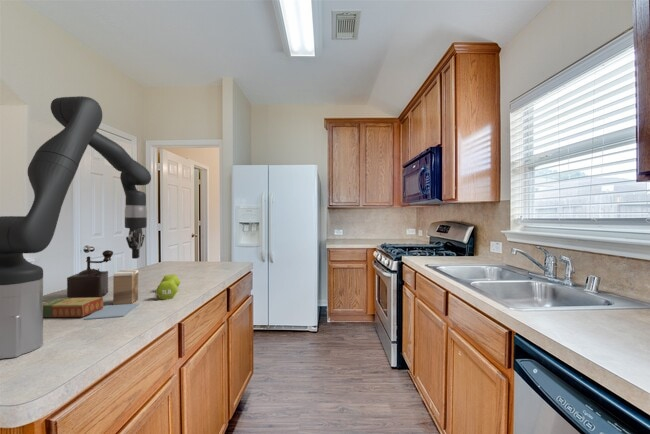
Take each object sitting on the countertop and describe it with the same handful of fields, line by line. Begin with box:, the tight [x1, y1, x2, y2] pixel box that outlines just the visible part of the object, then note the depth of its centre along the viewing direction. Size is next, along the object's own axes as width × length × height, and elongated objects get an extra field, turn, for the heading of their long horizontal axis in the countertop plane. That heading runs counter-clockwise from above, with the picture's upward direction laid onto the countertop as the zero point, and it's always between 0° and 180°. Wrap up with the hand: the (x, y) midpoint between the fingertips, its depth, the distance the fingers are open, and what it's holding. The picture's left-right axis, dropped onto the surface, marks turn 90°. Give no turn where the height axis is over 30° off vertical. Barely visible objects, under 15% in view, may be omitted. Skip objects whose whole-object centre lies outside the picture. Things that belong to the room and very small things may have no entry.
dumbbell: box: [155, 274, 181, 301], centre depth 117 cm, size 16×8×7 cm, turn 23°
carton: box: [43, 296, 104, 318], centre depth 94 cm, size 8×16×4 cm, turn 88°
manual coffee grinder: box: [66, 249, 114, 298], centre depth 116 cm, size 16×11×18 cm
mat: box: [83, 303, 139, 321], centre depth 96 cm, size 13×11×1 cm
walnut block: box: [112, 269, 139, 305], centre depth 106 cm, size 6×6×12 cm
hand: (135, 258), depth 115 cm, fingers closed
